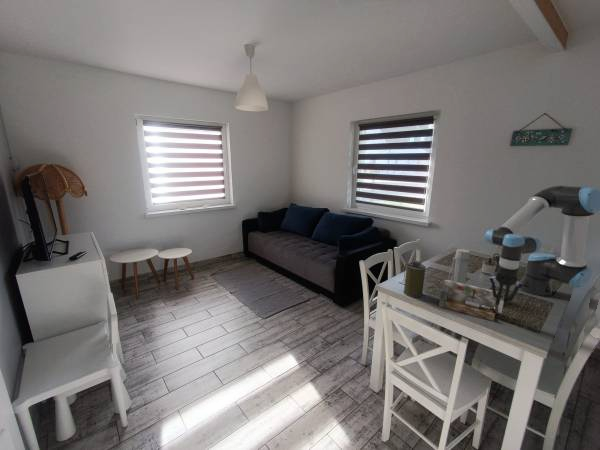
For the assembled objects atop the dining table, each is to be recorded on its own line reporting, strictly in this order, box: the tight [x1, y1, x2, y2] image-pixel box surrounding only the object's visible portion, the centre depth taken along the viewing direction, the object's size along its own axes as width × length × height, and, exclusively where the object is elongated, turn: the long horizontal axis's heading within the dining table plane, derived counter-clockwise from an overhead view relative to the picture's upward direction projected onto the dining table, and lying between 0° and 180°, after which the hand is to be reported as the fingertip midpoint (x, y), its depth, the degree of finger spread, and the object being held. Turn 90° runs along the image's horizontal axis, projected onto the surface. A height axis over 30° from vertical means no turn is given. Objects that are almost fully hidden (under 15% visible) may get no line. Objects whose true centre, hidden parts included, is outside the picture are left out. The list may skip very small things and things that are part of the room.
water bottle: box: [448, 248, 470, 284], centre depth 158 cm, size 9×8×25 cm
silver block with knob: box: [465, 289, 499, 315], centre depth 134 cm, size 14×6×9 cm, turn 55°
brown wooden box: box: [438, 279, 498, 322], centre depth 138 cm, size 24×10×12 cm, turn 55°
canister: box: [403, 259, 427, 299], centre depth 153 cm, size 11×10×20 cm
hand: (499, 311), depth 131 cm, fingers closed
